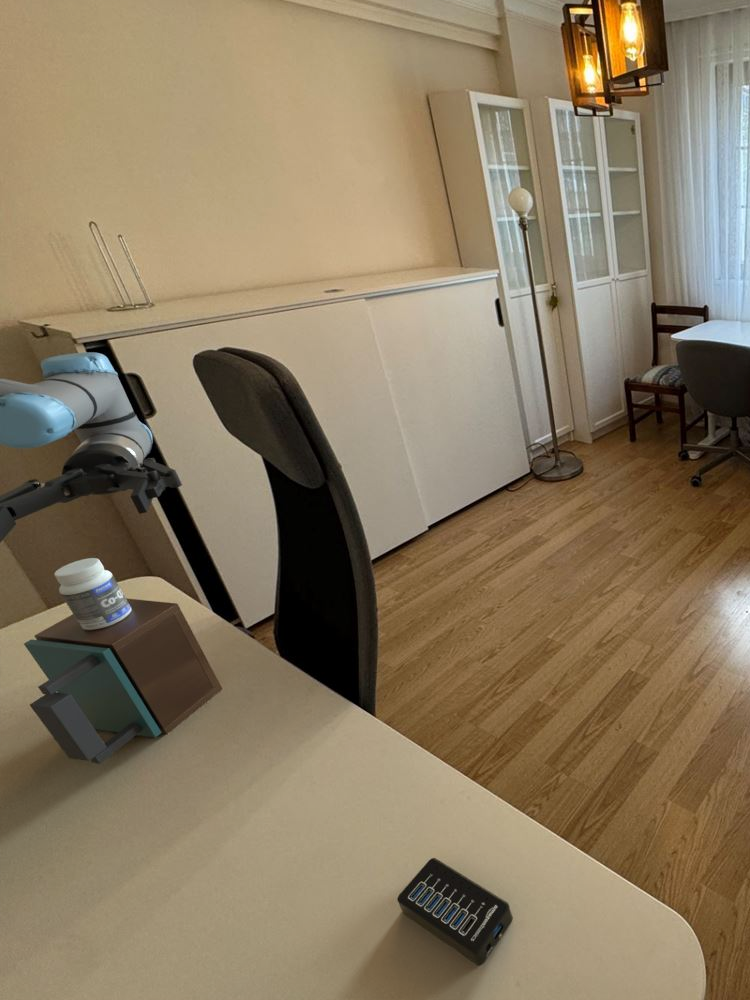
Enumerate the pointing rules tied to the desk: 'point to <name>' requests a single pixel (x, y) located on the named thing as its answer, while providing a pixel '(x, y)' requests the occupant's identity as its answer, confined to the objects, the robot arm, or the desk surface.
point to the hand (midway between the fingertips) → (66, 520)
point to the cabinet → (151, 658)
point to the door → (87, 700)
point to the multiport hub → (456, 910)
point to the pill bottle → (92, 594)
